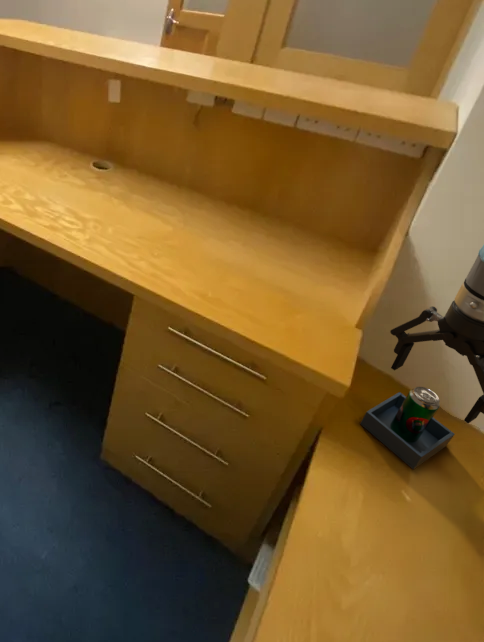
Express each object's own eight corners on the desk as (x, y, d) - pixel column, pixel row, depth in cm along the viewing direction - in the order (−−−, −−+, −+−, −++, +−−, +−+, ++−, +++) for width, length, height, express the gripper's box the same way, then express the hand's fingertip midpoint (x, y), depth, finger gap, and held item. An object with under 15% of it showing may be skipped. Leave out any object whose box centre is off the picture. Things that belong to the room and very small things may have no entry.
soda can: (395, 417, 109) (417, 380, 102) (421, 435, 105) (446, 397, 99) (384, 430, 106) (406, 393, 100) (411, 448, 103) (436, 411, 96)
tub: (446, 446, 104) (455, 433, 102) (413, 469, 99) (421, 457, 97) (392, 403, 112) (399, 391, 110) (359, 423, 108) (366, 411, 106)
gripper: (394, 275, 96) (358, 354, 107) (557, 369, 77) (494, 453, 88) (418, 264, 99) (381, 342, 110) (581, 352, 79) (517, 435, 90)
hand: (431, 391), depth 99 cm, fingers open, 13 cm apart
